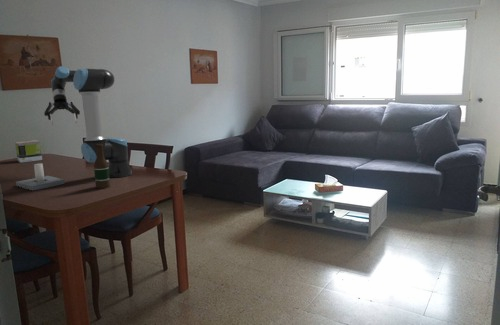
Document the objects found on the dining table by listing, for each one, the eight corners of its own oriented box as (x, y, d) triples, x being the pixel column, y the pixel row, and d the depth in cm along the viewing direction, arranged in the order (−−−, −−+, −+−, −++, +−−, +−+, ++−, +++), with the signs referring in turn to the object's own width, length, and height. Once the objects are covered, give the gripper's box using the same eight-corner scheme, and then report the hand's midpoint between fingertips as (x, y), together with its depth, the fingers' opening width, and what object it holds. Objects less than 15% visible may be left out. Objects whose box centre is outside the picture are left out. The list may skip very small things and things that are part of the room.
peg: (46, 184, 220) (44, 164, 217) (38, 186, 216) (36, 165, 214) (42, 183, 222) (40, 163, 220) (34, 185, 219) (32, 164, 216)
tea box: (39, 158, 300) (37, 139, 298) (42, 160, 293) (40, 141, 290) (17, 161, 291) (15, 141, 288) (19, 163, 284) (17, 143, 281)
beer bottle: (105, 184, 219) (102, 142, 214) (113, 186, 214) (109, 143, 209) (92, 187, 213) (88, 144, 208) (100, 189, 208) (96, 145, 203)
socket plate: (64, 183, 221) (64, 179, 221) (32, 190, 207) (31, 186, 206) (48, 179, 231) (47, 175, 231) (16, 186, 217) (15, 181, 216)
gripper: (80, 101, 259) (85, 125, 249) (38, 102, 247) (41, 127, 237) (80, 93, 254) (85, 117, 244) (37, 94, 242) (41, 119, 232)
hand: (64, 122), depth 240 cm, fingers open, 13 cm apart
